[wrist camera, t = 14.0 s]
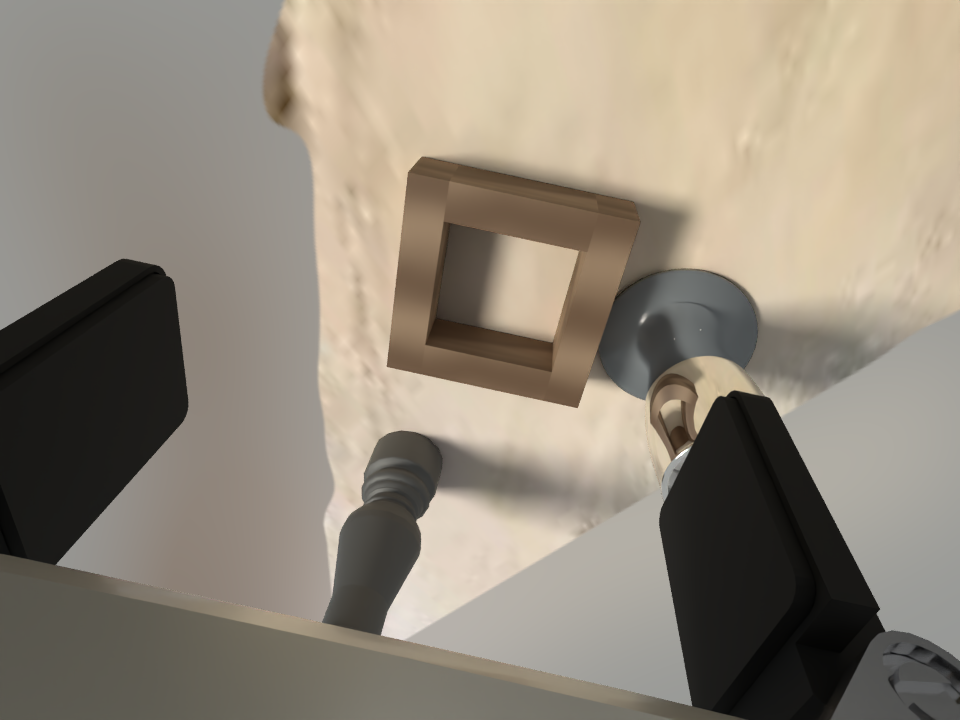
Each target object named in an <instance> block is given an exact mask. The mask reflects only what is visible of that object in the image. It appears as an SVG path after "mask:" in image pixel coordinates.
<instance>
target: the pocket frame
mask: <svg viewBox="0 0 960 720" xmlns="http://www.w3.org/2000/svg"><path fill="white" fill-rule="evenodd" d="M450 223H453V224H457V225H462V226H466V227H471V228H476V229H480V230H485V231H490V232H494V233H499V234H504V235H508V236H513V237H518V238H522V239H527V240H532V241H536V242H541V243H546V244H550V245H555V246H560V247H564V248H569V249H574V250H578V251H579V254H578V257H577V261H576V264H575V268H574V271H573V275H572V278H571V282H570V285H569V289H568V292H567V295H566V299H565V302H564V306H563V309H562V313H561V316H560V320H559V323H558V327H557V330H556V334H555V337H554V341H553V343H548V342H544V341H539V340H534V339H530V338H525V337H520V336H516V335H511V334H507V333H502V332H497V331H493V330H488V329H483V328H479V327H474V326H469V325H465V324H460V323H456V322H451V321H446V320H442V319H437V318H436V313H437V307H438V300H439V294H440V287H441V281H442V275H443V268H444V262H445V255H446V249H447V242H448V236H449V229H450ZM639 225H640V219H639V216H638V213H637V210H636V207H635V205H634V202H631V201H627V200H622V199H617V198H613V197H608V196H603V195H599V194H594V193H589V192H585V191H580V190H575V189H571V188H566V187H561V186H557V185H552V184H547V183H543V182H538V181H533V180H529V179H524V178H519V177H515V176H510V175H505V174H501V173H496V172H491V171H487V170H482V169H477V168H473V167H468V166H463V165H458V164H454V163H449V162H444V161H440V160H435V159H430V158H426V157H421V158H420V159H419V160H418V162H417V163H416V164H415V165H414V166H413V167H412V168H411V170H410V171H409V172H408V178H407V187H406V196H405V205H404V215H403V224H402V233H401V242H400V251H399V260H398V269H397V279H396V288H395V297H394V306H393V315H392V324H391V334H390V343H389V352H388V361H387V367H390V368H395V369H399V370H404V371H409V372H413V373H418V374H423V375H427V376H432V377H436V378H441V379H446V380H450V381H455V382H460V383H464V384H469V385H473V386H478V387H483V388H487V389H492V390H497V391H501V392H506V393H510V394H515V395H520V396H524V397H529V398H534V399H538V400H543V401H547V402H552V403H557V404H561V405H566V406H571V407H575V408H578V406H579V403H580V400H581V397H582V394H583V391H584V388H585V385H586V382H587V379H588V376H589V373H590V370H591V367H592V364H593V361H594V358H595V355H596V352H597V349H598V346H599V343H600V341H601V338H602V335H603V332H604V329H605V326H606V323H607V320H608V317H609V314H610V311H611V308H612V305H613V302H614V299H615V296H616V293H617V290H618V287H619V284H620V281H621V278H622V275H623V273H624V270H625V267H626V264H627V261H628V258H629V255H630V252H631V249H632V246H633V243H634V240H635V237H636V234H637V231H638V228H639Z"/></svg>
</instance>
